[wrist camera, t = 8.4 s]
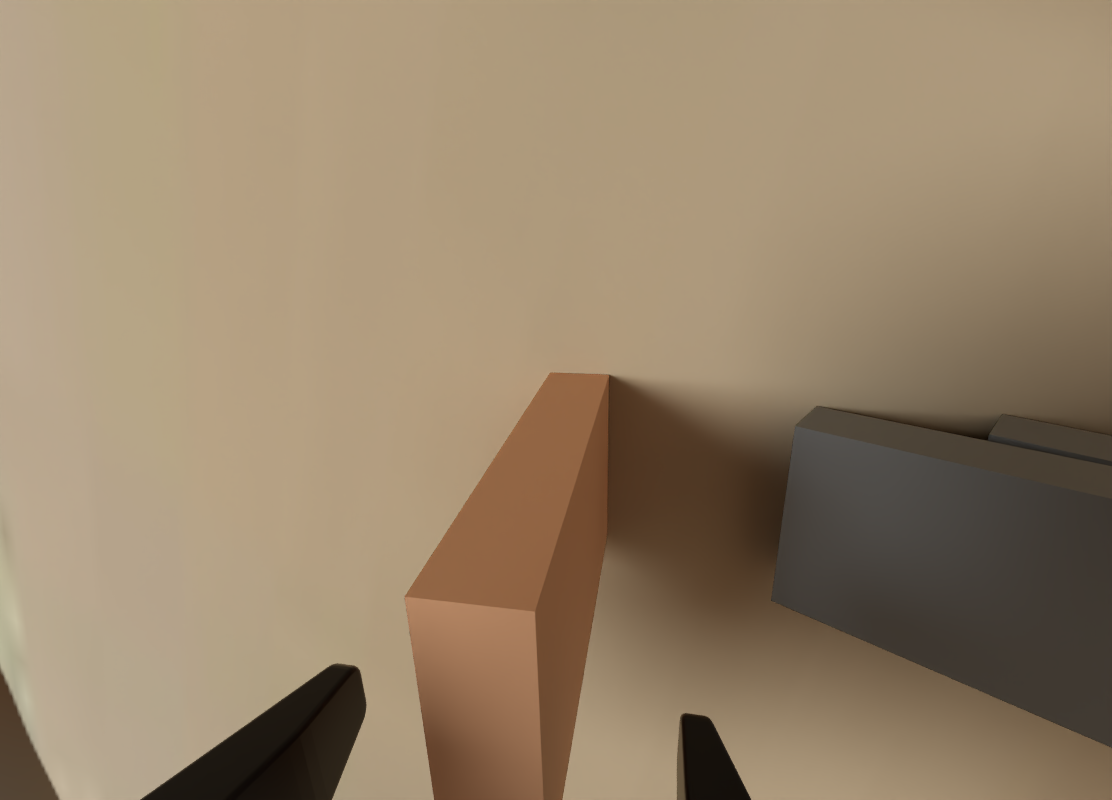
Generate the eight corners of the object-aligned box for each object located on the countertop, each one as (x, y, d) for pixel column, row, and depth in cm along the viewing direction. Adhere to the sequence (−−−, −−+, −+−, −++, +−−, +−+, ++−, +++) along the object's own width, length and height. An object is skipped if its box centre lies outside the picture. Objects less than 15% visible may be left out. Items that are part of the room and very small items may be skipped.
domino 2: (771, 600, 14) (1326, 840, 9) (795, 425, 13) (1506, 589, 7) (791, 570, 16) (1295, 765, 10) (816, 405, 14) (1444, 533, 8)
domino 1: (554, 530, 17) (443, 864, 8) (550, 372, 15) (405, 596, 7) (607, 534, 16) (547, 886, 8) (608, 374, 15) (535, 611, 6)
